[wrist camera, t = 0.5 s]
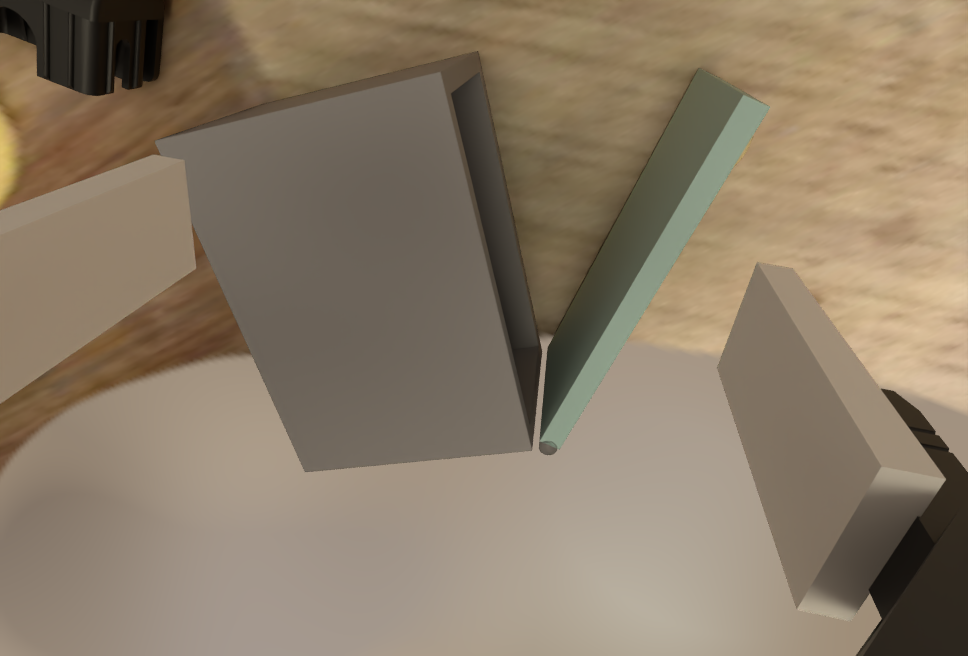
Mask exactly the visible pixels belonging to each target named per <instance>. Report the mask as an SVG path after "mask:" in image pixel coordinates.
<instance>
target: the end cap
mask: <svg viewBox="0 0 968 656" xmlns="http://www.w3.org/2000/svg"><path fill="white" fill-rule="evenodd" d="M163 21H164V0H0V33H6V34H9V35H11V36H14V37H16V38H19V39H21V40H24V41H27V42H29V43H32V44H34V45H36V46H37V76H39V77H42V78H44V79H47V80H49V81H52V82H54V83H57V84H60V85H62V86H65V87H67V88H70V89H72V90H75V91H78V92H80V93H83V94H87V95H92V96H100V95H105V94H110V93H114V76H116V77H118V78H121V79H122V87H123V88H125V89H128V90H130V89H135V88H139V87H142V82H143V81H147V82H150V81H154V80H156V79H157V78H158V76H159V71H160V59H161V46H162V33H163Z"/></svg>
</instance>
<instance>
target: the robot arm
mask: <svg viewBox="0 0 968 656" xmlns="http://www.w3.org/2000/svg"><path fill="white" fill-rule="evenodd" d="M195 269H196V261H195V252H194V243H193V234H192V225H191V215H190V206H189V197H188V188H187V179H186V170H185V161H184V160H180V159H175V158H169V157H164V156H158V155H151V156H148V157H146V158H143V159H140V160H137V161H135V162H132V163H129V164H126V165H124V166H121V167H118V168H115V169H113V170H110V171H107V172H104V173H102V174H99V175H96V176H94V177H91V178H88V179H85V180H83V181H80V182H77V183H74V184H72V185H69V186H66V187H63V188H61V189H58V190H55V191H52V192H50V193H47V194H44V195H41V196H39V197H36V198H33V199H30V200H28V201H25V202H22V203H19V204H17V205H14V206H11V207H9V208H6V209H3V210H0V403H2V402H3V401H5V400H6V399H8V398H9V397H11V396H12V395H13V394H15V393H16V392H18V391H19V390H21V389H22V388H24V387H25V386H27V385H28V384H29V383H31V382H32V381H34V380H35V379H37V378H38V377H40V376H41V375H42V374H44V373H45V372H47V371H48V370H50V369H51V368H53V367H54V366H56V365H57V364H58V363H60V362H61V361H63V360H64V359H66V358H67V357H69V356H70V355H71V354H73V353H74V352H76V351H77V350H79V349H80V348H82V347H83V346H84V345H86V344H87V343H89V342H90V341H92V340H93V339H95V338H96V337H98V336H99V335H100V334H102V333H103V332H105V331H106V330H108V329H109V328H111V327H112V326H113V325H115V324H116V323H118V322H119V321H121V320H122V319H124V318H125V317H127V316H128V315H129V314H131V313H132V312H134V311H135V310H137V309H138V308H140V307H141V306H142V305H144V304H145V303H147V302H148V301H150V300H151V299H153V298H154V297H155V296H157V295H158V294H160V293H161V292H163V291H164V290H166V289H167V288H169V287H170V286H171V285H173V284H174V283H176V282H177V281H179V280H180V279H182V278H183V277H184V276H186V275H187V274H189V273H190V272H192V271H193V270H195ZM717 369H718V372H719V375H720V378H721V381H722V384H723V387H724V391H725V393H726V397H727V400H728V403H729V406H730V409H731V412H732V415H733V418H734V421H735V424H736V427H737V430H738V433H739V436H740V439H741V442H742V445H743V448H744V451H745V454H746V457H747V460H748V463H749V466H750V469H751V472H752V475H753V478H754V481H755V484H756V487H757V491H758V493H759V497H760V500H761V503H762V506H763V509H764V512H765V515H766V518H767V521H768V524H769V527H770V530H771V533H772V536H773V539H774V542H775V545H776V548H777V551H778V554H779V557H780V560H781V563H782V566H783V569H784V572H785V575H786V579H787V582H788V584H789V588H790V591H791V594H792V597H793V600H794V603H795V606H796V609H797V610H801V611H806V612H810V613H815V614H820V615H824V616H829V617H833V618H838V619H842V620H847V621H851V620H852V619H853V617H854V616H855V614H856V613H857V611H858V610H859V608H860V607H861V605H862V604H863V602H864V601H865V600H866V598H867V596H868V595H869V594H871V596H872V598H873V601H874V603H875V605H876V607H877V609H878V611H879V614H880V616H881V618H882V620H881V621H880V622H879V624H878V625H877V626H876V628H875V629H874V631H873V632H872V634H871V635H870V636H869V638H868V639H867V641H866V642H865V644H864V645H863V646H862V648H861V649H860V651H859V652H858V654H857V655H856V656H968V472H967V471H966V470H965V468H964V467H963V466H962V464H961V463H960V462H959V461H958V459H957V458H956V457H955V456H954V454H953V453H950V452H949V448H948V447H947V445H946V444H945V443H944V442H943V440H942V439H941V438H940V436H938V435H935V430H934V429H933V427H932V426H931V425H930V424H929V422H928V421H927V420H926V418H925V417H924V416H923V415H922V413H921V412H920V411H919V410H918V409H916V408H915V407H914V406H913V405H911V404H910V403H909V402H907V401H906V400H905V399H903V398H902V397H901V396H899V395H898V394H897V393H896V392H894V391H891V390H885V389H880V388H879V386H878V385H877V383H876V382H875V381H874V379H873V378H872V377H871V375H870V374H869V372H868V371H867V370H866V368H865V367H864V365H863V364H862V363H861V361H860V360H859V359H858V357H857V356H856V354H855V353H854V352H853V350H852V349H851V348H850V346H849V345H848V343H847V342H846V341H845V339H844V338H843V337H842V335H841V334H840V332H839V331H838V330H837V328H836V327H835V326H834V324H833V323H832V321H831V320H830V319H829V317H828V316H827V315H826V313H825V312H824V310H823V309H822V308H821V306H820V305H819V304H818V302H817V301H816V299H815V298H814V297H813V295H812V294H811V293H810V291H809V290H808V288H807V287H806V286H805V284H804V283H803V282H802V280H801V279H800V277H799V276H798V275H797V273H796V272H795V270H794V269H793V268H788V267H782V266H776V265H771V264H765V263H759V262H757V264H756V266H755V269H754V272H753V274H752V277H751V279H750V282H749V285H748V287H747V290H746V293H745V295H744V298H743V301H742V303H741V306H740V308H739V311H738V314H737V316H736V319H735V322H734V324H733V327H732V330H731V332H730V335H729V338H728V340H727V343H726V345H725V348H724V351H723V353H722V356H721V359H720V361H719V364H718V367H717Z"/></svg>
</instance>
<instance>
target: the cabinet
mask: <svg viewBox="0 0 968 656" xmlns="http://www.w3.org/2000/svg"><path fill="white" fill-rule="evenodd" d="M155 143H156V146H157V148H158V150H159V152H160V154H161V156H164V157H169V158H175V159H180V160H184V161H185V170H186V179H187V188H188V197H189V206H190V215H191V223H192V225H193V227H194V229H195V231H196V234H197V236H198V238H199V240H200V242H201V244H202V247H203V249H204V251H205V253H206V255H207V258H208V260H209V262H210V264H211V266H212V269H213V271H214V273H215V275H216V277H217V280H218V282H219V284H220V286H221V288H222V291H223V293H224V295H225V297H226V299H227V302H228V304H229V306H230V308H231V310H232V313H233V315H234V317H235V319H236V321H237V324H238V326H239V328H240V330H241V332H242V335H243V337H244V339H245V341H246V343H247V346H248V348H249V350H250V352H251V354H252V357H253V359H254V361H255V363H256V365H257V368H258V370H259V372H260V374H261V376H262V379H263V381H264V383H265V385H266V387H267V389H268V392H269V394H270V396H271V398H272V401H273V403H274V405H275V407H276V409H277V411H278V414H279V416H280V418H281V420H282V423H283V425H284V427H285V429H286V431H287V434H288V436H289V438H290V440H291V442H292V444H293V446H294V449H295V451H296V453H297V456H298V458H299V460H300V462H301V464H302V466H303V469H304V471H305V472H313V471H323V470H333V469H344V468H355V467H365V466H376V465H386V464H397V463H407V462H417V461H427V460H439V459H450V458H460V457H471V456H481V455H491V454H502V453H512V452H523V451H532V446H533V435H534V426H535V416H536V406H537V396H538V386H539V377H540V366H541V357H542V349H541V344H540V339H539V335H538V330H537V325H536V321H535V316H534V311H533V306H532V302H531V297H530V292H529V288H528V283H527V278H526V274H525V269H524V264H523V260H522V255H521V250H520V246H519V241H518V236H517V232H516V227H515V222H514V218H513V213H512V208H511V203H510V199H509V194H508V189H507V185H506V180H505V175H504V171H503V166H502V161H501V157H500V152H499V147H498V143H497V138H496V133H495V129H494V124H493V119H492V115H491V110H490V105H489V101H488V96H487V91H486V86H485V82H484V77H483V72H482V68H481V63H480V58H479V54H478V51H477V52H473V53H469V54H465V55H461V56H457V57H453V58H449V59H445V60H441V61H436V62H432V63H428V64H424V65H420V66H416V67H412V68H408V69H404V70H400V71H396V72H392V73H388V74H384V75H379V76H375V77H371V78H367V79H363V80H359V81H355V82H351V83H347V84H343V85H339V86H335V87H331V88H327V89H323V90H318V91H314V92H310V93H306V94H302V95H298V96H294V97H290V98H286V99H282V100H278V101H274V102H270V103H266V104H262V105H258V106H255V107H253V108H250V109H247V110H244V111H241V112H238V113H235V114H232V115H229V116H226V117H223V118H220V119H217V120H214V121H211V122H209V123H206V124H203V125H200V126H197V127H194V128H191V129H188V130H185V131H182V132H179V133H176V134H173V135H170V136H167V137H165V138H162V139H159V140H156V141H155Z"/></svg>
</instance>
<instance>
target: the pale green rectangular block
mask: <svg viewBox="0 0 968 656" xmlns="http://www.w3.org/2000/svg"><path fill="white" fill-rule="evenodd" d="M769 109H770V107H769V106H768V105H766V104H764V103H762V102H761V101H759V100H757V99H755V98H754V97H752V96H750V95H748V94H747V93H745V92H743V91H741V90H740V89H738V88H736V87H734V86H733V85H731V84H729V83H728V82H726V81H724V80H722V79H721V78H719V77H717V76H715V75H712V74H710V73H708V72H706V71H704V70H702V69H700V68H699V69H698V71H697V72H696V74H695V76H694V78H693V80H692V82H691V84H690V85H689V87H688V89H687V91H686V93H685V95H684V97H683V98H682V100H681V102H680V104H679V106H678V108H677V109H676V111H675V113H674V115H673V117H672V119H671V121H670V122H669V124H668V126H667V128H666V130H665V132H664V134H663V135H662V137H661V139H660V141H659V143H658V145H657V146H656V148H655V150H654V152H653V154H652V156H651V158H650V159H649V161H648V163H647V165H646V167H645V169H644V171H643V172H642V174H641V176H640V178H639V180H638V182H637V183H636V185H635V187H634V189H633V191H632V193H631V195H630V196H629V198H628V200H627V202H626V204H625V206H624V208H623V209H622V211H621V213H620V215H619V217H618V219H617V220H616V222H615V224H614V226H613V228H612V230H611V232H610V233H609V235H608V237H607V239H606V241H605V243H604V245H603V246H602V248H601V250H600V252H599V254H598V256H597V257H596V259H595V261H594V263H593V265H592V267H591V269H590V270H589V272H588V274H587V276H586V278H585V280H584V282H583V283H582V285H581V287H580V289H579V291H578V293H577V294H576V296H575V298H574V300H573V302H572V304H571V306H570V307H569V309H568V311H567V313H566V315H565V317H564V319H563V320H562V322H561V324H560V326H559V328H558V330H557V331H556V333H555V335H554V337H553V339H552V341H551V343H550V344H549V346H548V351H547V361H546V372H545V384H544V396H543V407H542V419H541V432H540V442H539V449H540V451H541V453H543V454H545V455H552V454H554V453H555V452H556V451H557V449H560V448H561V446H562V445H563V443H564V441H565V440H566V438H567V437H568V435H569V433H570V432H571V430H572V428H573V427H574V425H575V424H576V422H577V420H578V419H579V417H580V415H581V414H582V412H583V411H584V409H585V407H586V406H587V404H588V402H589V401H590V399H591V398H592V395H593V394H594V393H595V391H596V389H597V388H598V386H599V385H600V383H601V381H602V379H603V378H604V376H605V375H606V373H607V372H608V370H609V368H610V367H611V365H612V363H613V362H614V360H615V359H616V357H617V355H618V354H619V352H620V350H621V349H622V347H623V346H624V344H625V342H626V341H627V339H628V337H629V336H630V334H631V333H632V331H633V329H634V328H635V326H636V324H637V323H638V321H639V320H640V318H641V316H642V315H643V313H644V311H645V310H646V308H647V307H648V305H649V303H650V302H651V300H652V299H653V297H654V295H655V294H656V292H657V290H658V289H659V287H660V286H661V284H662V282H663V281H664V279H665V277H666V276H667V274H668V273H669V271H670V269H671V268H672V266H673V264H674V263H675V261H676V260H677V258H678V256H679V255H680V253H681V251H682V250H683V248H684V247H685V245H686V243H687V242H688V240H689V238H690V237H691V235H692V234H693V232H694V230H695V229H696V227H697V225H698V224H699V222H700V221H701V219H702V217H703V216H704V214H705V212H706V211H707V209H708V208H709V206H710V204H711V203H712V201H713V199H714V198H715V196H716V195H717V193H718V191H719V190H720V188H721V186H722V185H723V183H724V182H725V180H726V178H727V177H728V175H729V173H730V172H731V170H732V169H733V167H734V166H735V165H737V164H738V162H739V161H740V160H741V159H742V157H743V156H744V154H745V153H746V151H747V149H748V147H749V145H750V143H751V141H752V138H753V134H754V133H755V131H756V130H757V128H758V126H759V125H760V123H761V122H762V120H763V118H764V117H765V115H766V113H767V112H768V110H769Z"/></svg>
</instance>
